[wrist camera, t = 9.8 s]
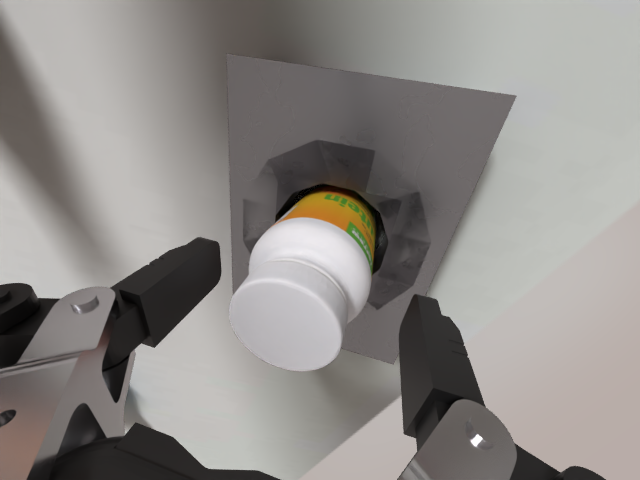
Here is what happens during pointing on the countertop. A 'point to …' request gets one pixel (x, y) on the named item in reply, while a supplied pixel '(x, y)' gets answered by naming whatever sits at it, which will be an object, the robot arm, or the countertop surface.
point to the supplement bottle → (307, 280)
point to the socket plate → (358, 168)
